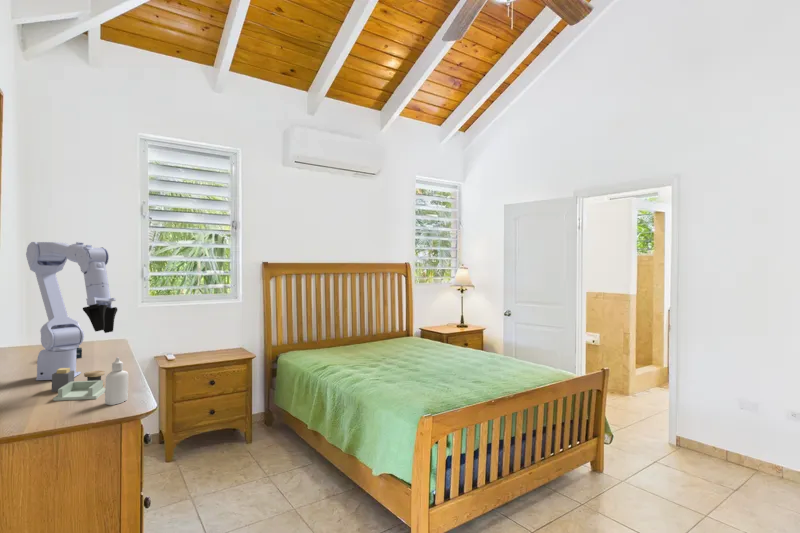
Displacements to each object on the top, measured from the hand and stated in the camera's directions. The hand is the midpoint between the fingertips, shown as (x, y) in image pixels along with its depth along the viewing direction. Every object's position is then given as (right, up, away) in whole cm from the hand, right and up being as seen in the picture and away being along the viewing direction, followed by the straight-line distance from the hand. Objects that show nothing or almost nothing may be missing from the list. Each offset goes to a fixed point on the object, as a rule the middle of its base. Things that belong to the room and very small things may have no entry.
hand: (104, 331), depth 133 cm
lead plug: (-10, -16, -2) cm, 20 cm away
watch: (-36, -15, +37) cm, 54 cm away
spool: (-4, -16, +2) cm, 17 cm away
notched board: (-2, -17, -7) cm, 18 cm away
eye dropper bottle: (+11, -17, -12) cm, 24 cm away
